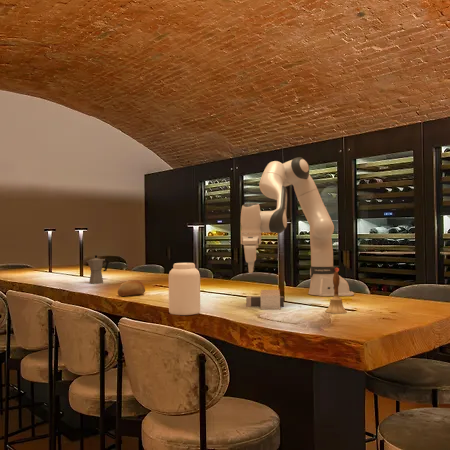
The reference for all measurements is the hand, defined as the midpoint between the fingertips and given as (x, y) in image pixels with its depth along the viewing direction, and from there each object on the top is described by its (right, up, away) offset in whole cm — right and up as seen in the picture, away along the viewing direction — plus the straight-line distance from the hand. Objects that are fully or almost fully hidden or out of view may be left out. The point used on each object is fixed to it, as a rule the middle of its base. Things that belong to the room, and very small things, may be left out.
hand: (251, 272), depth 225 cm
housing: (+8, -15, -1) cm, 17 cm away
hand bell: (+33, -14, -19) cm, 41 cm away
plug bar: (+6, -15, -1) cm, 16 cm away
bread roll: (-59, -16, +42) cm, 74 cm away
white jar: (-28, -15, -18) cm, 36 cm away
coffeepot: (-94, -17, +111) cm, 146 cm away
